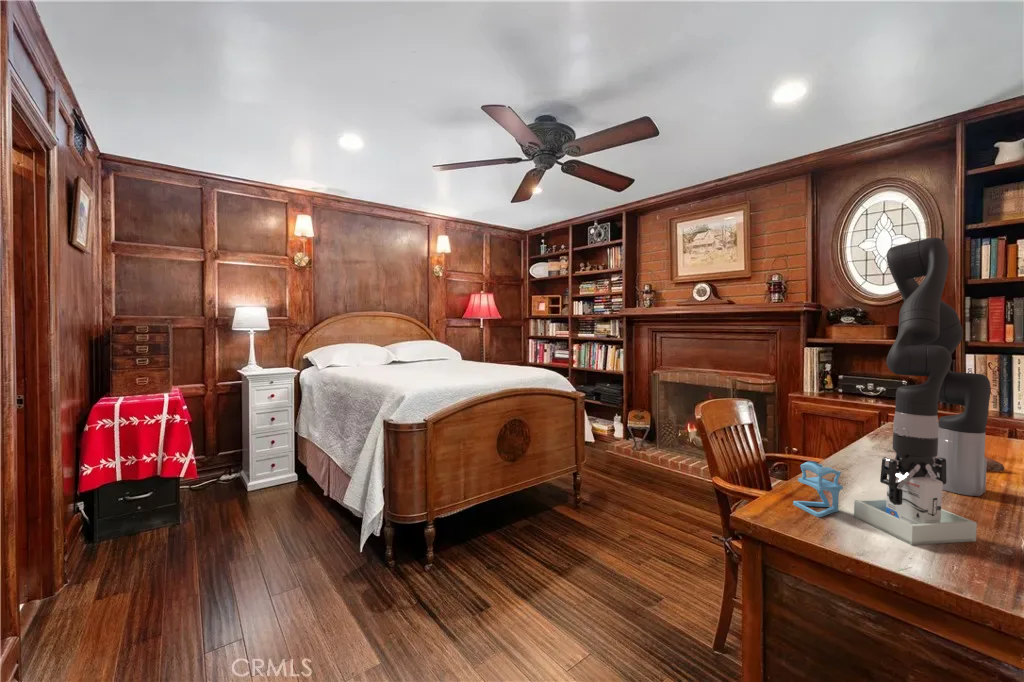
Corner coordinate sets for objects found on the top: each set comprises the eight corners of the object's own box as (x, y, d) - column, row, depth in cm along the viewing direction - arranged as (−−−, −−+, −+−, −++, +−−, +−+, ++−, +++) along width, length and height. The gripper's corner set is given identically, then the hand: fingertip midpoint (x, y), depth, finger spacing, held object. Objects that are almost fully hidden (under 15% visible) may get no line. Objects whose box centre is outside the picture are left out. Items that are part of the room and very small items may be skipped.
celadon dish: (911, 513, 107) (911, 497, 107) (976, 541, 93) (976, 522, 93) (853, 516, 105) (854, 500, 105) (911, 545, 91) (912, 526, 91)
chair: (847, 515, 106) (849, 466, 105) (818, 517, 104) (819, 468, 104) (820, 502, 113) (821, 457, 113) (792, 504, 112) (793, 458, 112)
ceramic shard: (917, 443, 152) (959, 449, 152) (915, 461, 152) (958, 468, 152) (960, 449, 138) (1007, 456, 138) (959, 470, 137) (1006, 477, 137)
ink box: (884, 517, 103) (885, 468, 103) (902, 516, 104) (904, 468, 103) (921, 534, 95) (923, 481, 94) (941, 533, 95) (944, 481, 95)
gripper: (925, 427, 103) (922, 495, 103) (871, 429, 101) (868, 497, 102) (961, 436, 95) (958, 508, 96) (903, 437, 94) (901, 511, 94)
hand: (912, 502), depth 99 cm, fingers open, 8 cm apart
